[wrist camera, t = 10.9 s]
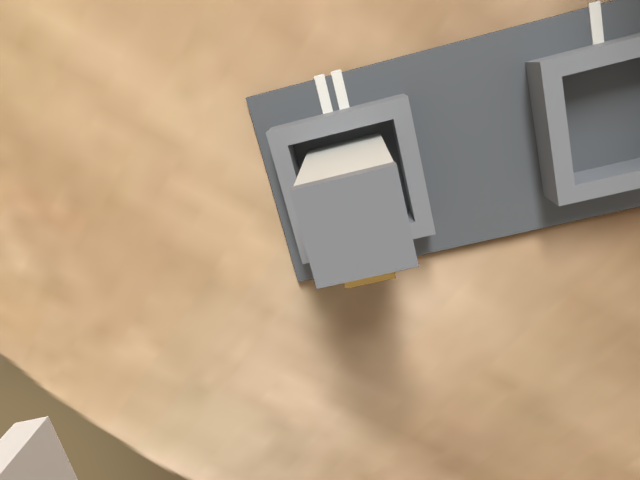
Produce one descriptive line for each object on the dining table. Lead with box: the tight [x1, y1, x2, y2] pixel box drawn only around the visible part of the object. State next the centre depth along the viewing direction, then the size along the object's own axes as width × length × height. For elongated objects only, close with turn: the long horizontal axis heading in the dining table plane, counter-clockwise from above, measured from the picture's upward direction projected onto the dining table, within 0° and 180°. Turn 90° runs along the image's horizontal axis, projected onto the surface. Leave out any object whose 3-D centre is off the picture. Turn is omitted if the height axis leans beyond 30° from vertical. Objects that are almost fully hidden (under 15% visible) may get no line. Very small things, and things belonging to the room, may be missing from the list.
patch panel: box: [246, 0, 640, 282], centre depth 32 cm, size 12×25×3 cm, turn 104°
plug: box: [290, 132, 419, 289], centre depth 29 cm, size 6×4×11 cm
